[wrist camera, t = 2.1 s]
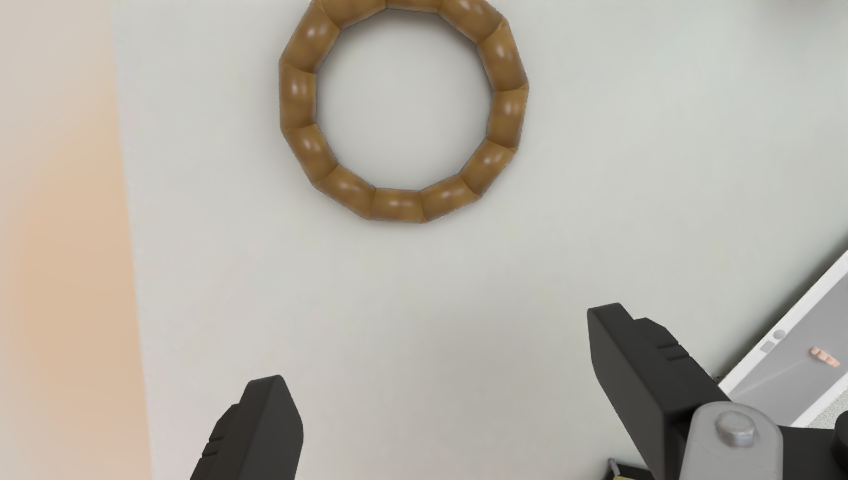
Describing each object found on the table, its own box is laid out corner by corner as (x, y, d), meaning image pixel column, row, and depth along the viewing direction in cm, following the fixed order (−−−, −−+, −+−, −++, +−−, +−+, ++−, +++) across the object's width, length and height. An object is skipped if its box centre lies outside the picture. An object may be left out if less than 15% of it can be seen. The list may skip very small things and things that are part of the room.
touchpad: (944, 271, 28) (987, 289, 26) (763, 442, 33) (786, 468, 31) (856, 214, 26) (894, 229, 24) (678, 404, 31) (697, 429, 29)
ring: (285, 206, 24) (278, 217, 23) (280, -46, 20) (271, -52, 18) (500, 222, 25) (506, 234, 24) (541, -15, 21) (552, -19, 19)
